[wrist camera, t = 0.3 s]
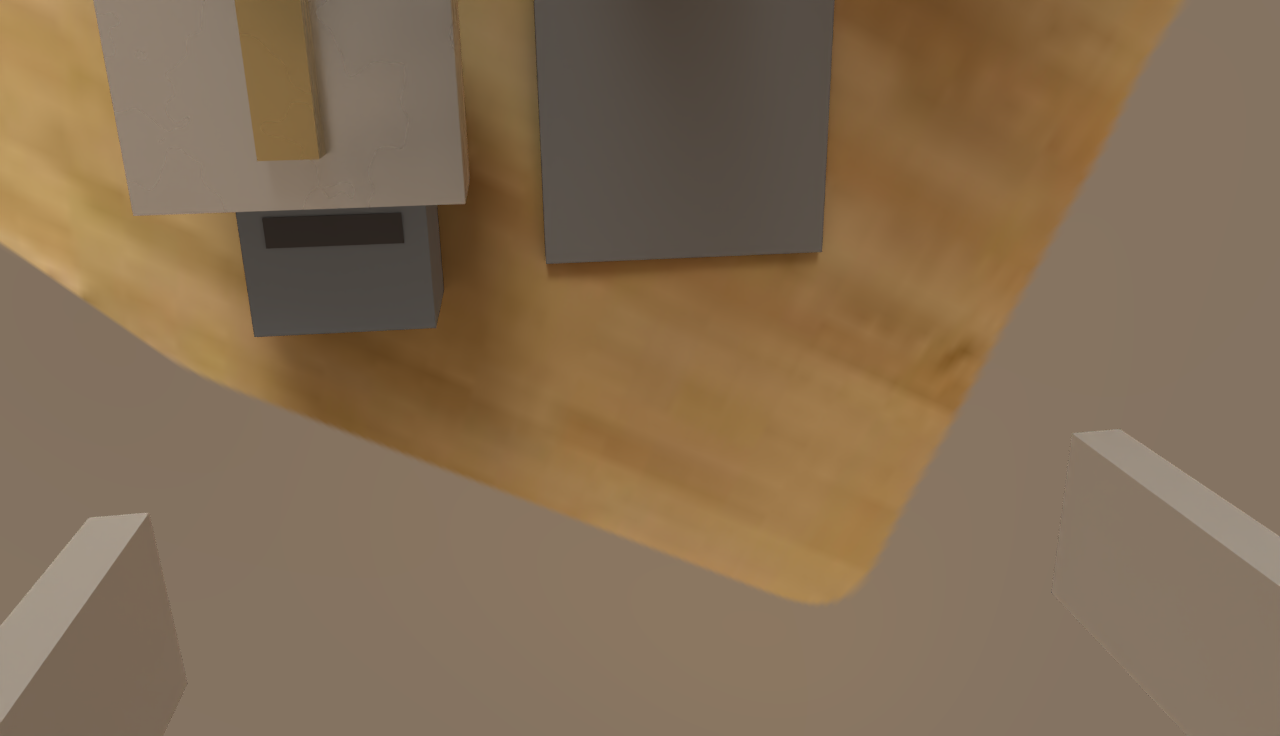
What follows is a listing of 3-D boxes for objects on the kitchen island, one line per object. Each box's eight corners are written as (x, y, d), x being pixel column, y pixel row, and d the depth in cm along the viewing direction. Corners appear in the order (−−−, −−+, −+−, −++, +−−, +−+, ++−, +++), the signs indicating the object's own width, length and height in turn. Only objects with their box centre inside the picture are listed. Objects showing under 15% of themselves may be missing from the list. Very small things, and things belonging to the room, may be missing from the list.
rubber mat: (527, -138, 34) (527, -140, 34) (837, -136, 35) (841, -138, 35) (545, 260, 39) (546, 263, 38) (818, 249, 40) (821, 252, 40)
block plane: (220, -173, 33) (159, -214, 27) (406, -172, 33) (386, -212, 27) (285, 297, 38) (245, 348, 32) (443, 290, 39) (433, 338, 33)
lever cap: (136, -88, 29) (56, -111, 24) (451, -88, 30) (440, -110, 25) (182, 189, 31) (120, 222, 26) (470, 179, 32) (464, 210, 27)
